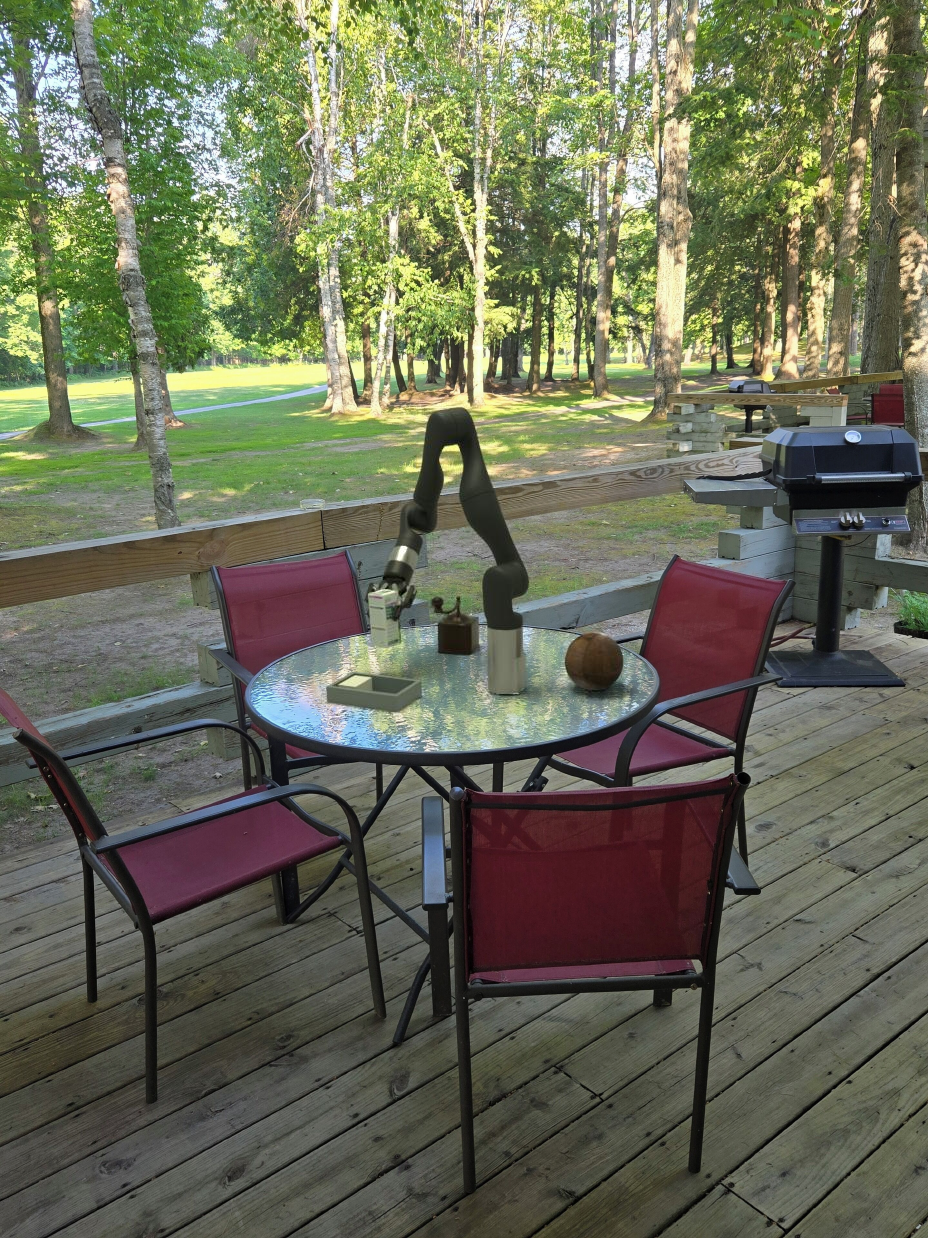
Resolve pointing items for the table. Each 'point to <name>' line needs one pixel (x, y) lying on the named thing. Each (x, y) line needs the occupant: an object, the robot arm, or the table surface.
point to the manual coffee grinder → (456, 630)
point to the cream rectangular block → (358, 683)
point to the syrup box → (384, 618)
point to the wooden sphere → (594, 661)
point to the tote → (377, 692)
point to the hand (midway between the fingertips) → (381, 618)
